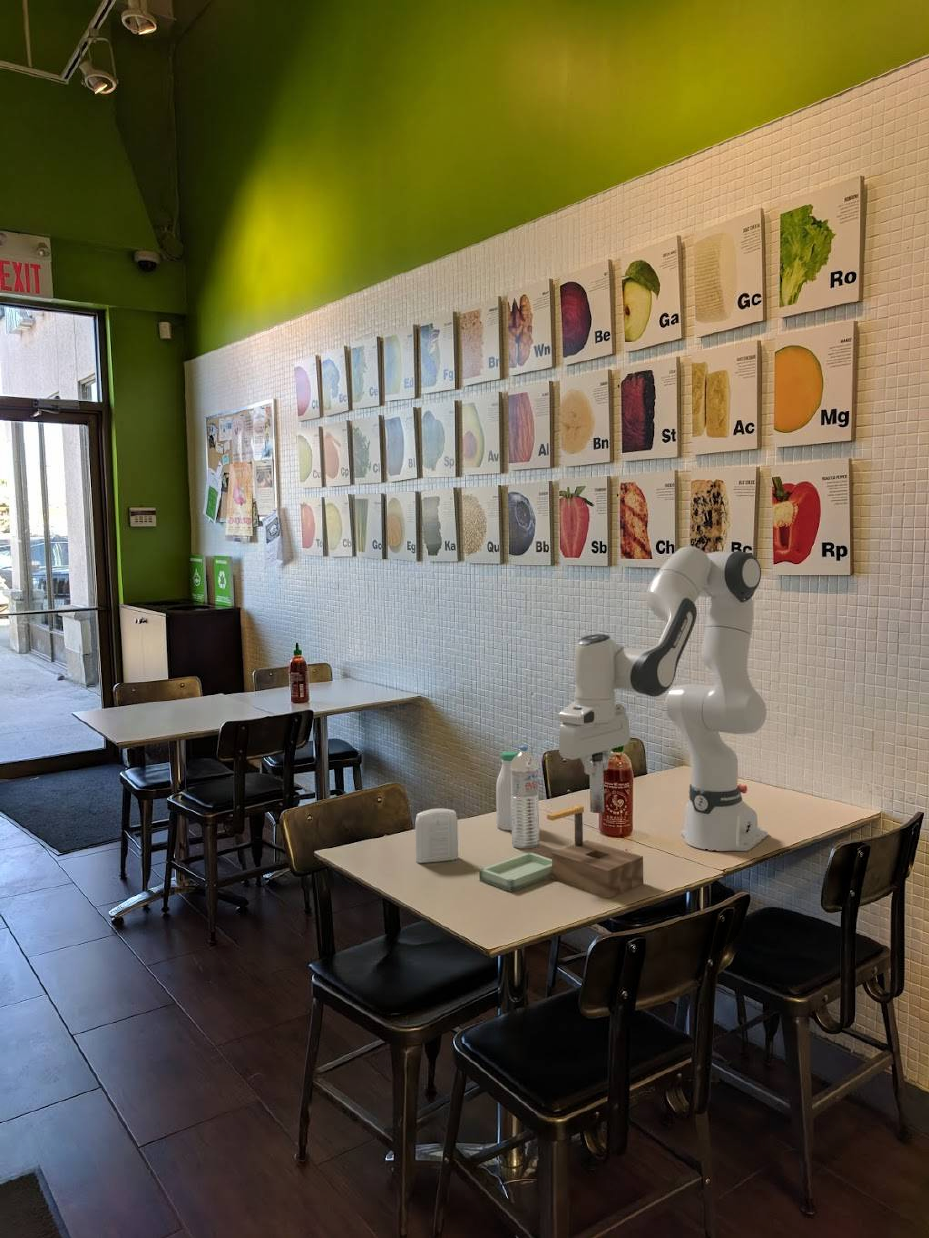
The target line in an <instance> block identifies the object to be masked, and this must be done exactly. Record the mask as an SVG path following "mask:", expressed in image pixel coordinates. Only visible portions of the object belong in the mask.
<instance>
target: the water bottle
mask: <svg viewBox="0 0 929 1238" xmlns="http://www.w3.org/2000/svg"><path fill="white" fill-rule="evenodd" d="M538 765H539V764H538V761H537V759H536V758H535V757H534V756H533V755H532V754H531V753H529V752H528V745H520V746H519V752H518V754H517V755H516V756H515V757H514V758H513V760H512V761H511V763H510V769H511V819H512V820H511V822H512V824H511V825H512V831H511V844H512V846H513V847H515V848H516V849H519V850H532V849H535V848H537V847H538V846H539V844H540V811H539V809H540V808H539V807H540V805H539V804H540V803H539V786H538V785H539V784H538V783H539V779H538V777H539V776H538V769H539V766H538Z"/></svg>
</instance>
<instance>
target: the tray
mask: <svg viewBox="0 0 929 1238" xmlns="http://www.w3.org/2000/svg"><path fill="white" fill-rule="evenodd" d="M478 872H479V873H478V874H479V877H478V878H479V881H480V882H483V883H486V884H488V885H491V886H494V887H496V888H498V889H501V890H504V891H507V892H509V893H513V892H516V891H518V890H521V889H523V888H526V887H529V886H531V885H533V884H536V883H539V882H541V881H544V880H547V879H549V878H552V858H549V857H546V856H542V855H540V854H537V853H534V852H530V851H528V852H525V853H522V854H519V855H517V856H513V857H511V858H508V859H506V860H505V859H504V860H502V861H500V862H496V863H494V864H491V865H488V866H485V867H482V868H479V869H478ZM546 878H547V879H546Z"/></svg>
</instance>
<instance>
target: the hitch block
mask: <svg viewBox="0 0 929 1238" xmlns="http://www.w3.org/2000/svg"><path fill="white" fill-rule="evenodd" d="M583 824H584V822H583V813H577V814H574V844H572V845H569V846H566V847H563V848H561V849H558V850H555V851H552V852H551V859H552V877H551V878H552V880H555V881H558V882H560V883H562V884H567V885H569V886H571V887H574V888H578V889H580V888H581V889H580V890H583V889H584V891H586V892H590V893H592V894H594V895H598V896H600V897H604V898H607V899H611V898H613V897H616V896H617V895H619V894H621V893H624V892H627V891H629V890H631V889H634V888H635V887H637V886H641V885H642V884H644V856H642V855H640V854H636V853H633V852H629V851H626V850H622V849H620V848H619V849H618V848H615V847H613V846H612V847H611V846H609V845H605V844H603V843H600V842H599V843H598V842H596V841H595V842H594V841H593V840H589V839H587V840H584V837H583V836H584V835H583V834H584V831H583V830H584V827H583Z"/></svg>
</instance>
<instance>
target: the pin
mask: <svg viewBox="0 0 929 1238" xmlns="http://www.w3.org/2000/svg"><path fill="white" fill-rule="evenodd" d="M590 761H591V763H592V765H593V766H595V773H593V774H591V775H589V803H590V804H589V805H590V806H589V807H590V813H594V814H603V813H605V792H604V791H605V788H604V787H605V784H604V771H603V753H602V752H599V753H595V754H592V759H590Z"/></svg>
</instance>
